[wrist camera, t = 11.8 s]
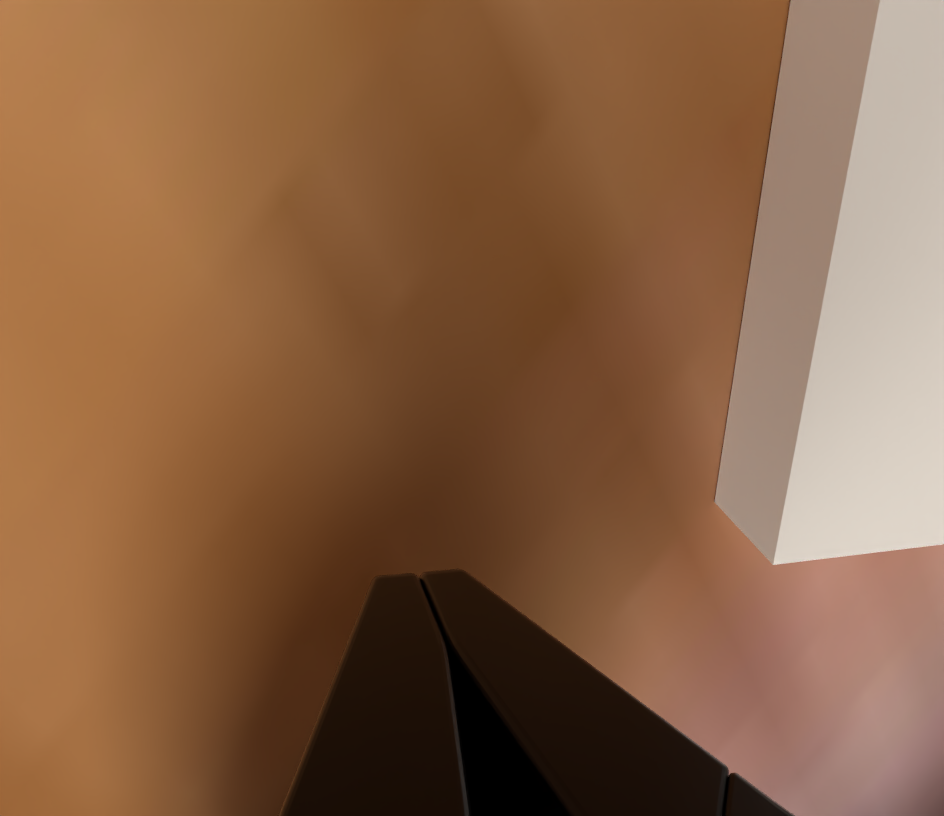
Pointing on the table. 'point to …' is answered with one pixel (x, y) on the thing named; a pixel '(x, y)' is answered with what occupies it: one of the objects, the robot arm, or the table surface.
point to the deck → (845, 293)
